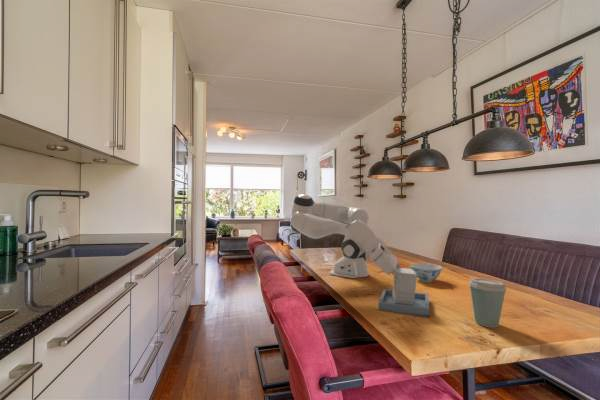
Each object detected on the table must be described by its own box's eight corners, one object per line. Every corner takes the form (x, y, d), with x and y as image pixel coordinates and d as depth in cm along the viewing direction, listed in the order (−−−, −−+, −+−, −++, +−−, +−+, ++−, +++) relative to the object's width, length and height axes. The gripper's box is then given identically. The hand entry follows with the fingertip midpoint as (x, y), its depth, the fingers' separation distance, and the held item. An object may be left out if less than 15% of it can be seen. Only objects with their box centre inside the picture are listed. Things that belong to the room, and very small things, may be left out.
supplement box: (409, 298, 117) (412, 268, 116) (414, 305, 110) (417, 274, 109) (391, 295, 118) (394, 266, 117) (394, 303, 111) (397, 272, 110)
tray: (378, 310, 108) (378, 302, 108) (383, 295, 125) (383, 289, 125) (429, 317, 101) (429, 308, 101) (428, 300, 118) (427, 293, 118)
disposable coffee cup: (471, 315, 102) (471, 274, 103) (508, 322, 96) (507, 279, 96) (466, 325, 94) (466, 280, 94) (506, 334, 87) (505, 286, 88)
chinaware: (404, 279, 152) (404, 264, 152) (424, 275, 158) (424, 262, 158) (427, 286, 138) (427, 270, 138) (448, 282, 144) (448, 267, 144)
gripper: (375, 251, 128) (398, 274, 124) (368, 259, 109) (395, 287, 105) (385, 242, 126) (409, 265, 122) (380, 249, 107) (407, 277, 103)
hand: (402, 275), depth 113 cm, fingers closed on supplement box, 8 cm apart
